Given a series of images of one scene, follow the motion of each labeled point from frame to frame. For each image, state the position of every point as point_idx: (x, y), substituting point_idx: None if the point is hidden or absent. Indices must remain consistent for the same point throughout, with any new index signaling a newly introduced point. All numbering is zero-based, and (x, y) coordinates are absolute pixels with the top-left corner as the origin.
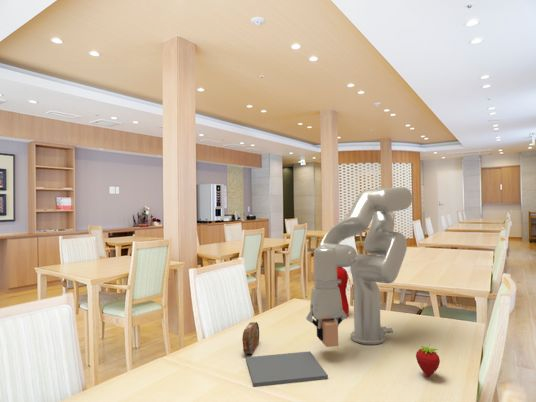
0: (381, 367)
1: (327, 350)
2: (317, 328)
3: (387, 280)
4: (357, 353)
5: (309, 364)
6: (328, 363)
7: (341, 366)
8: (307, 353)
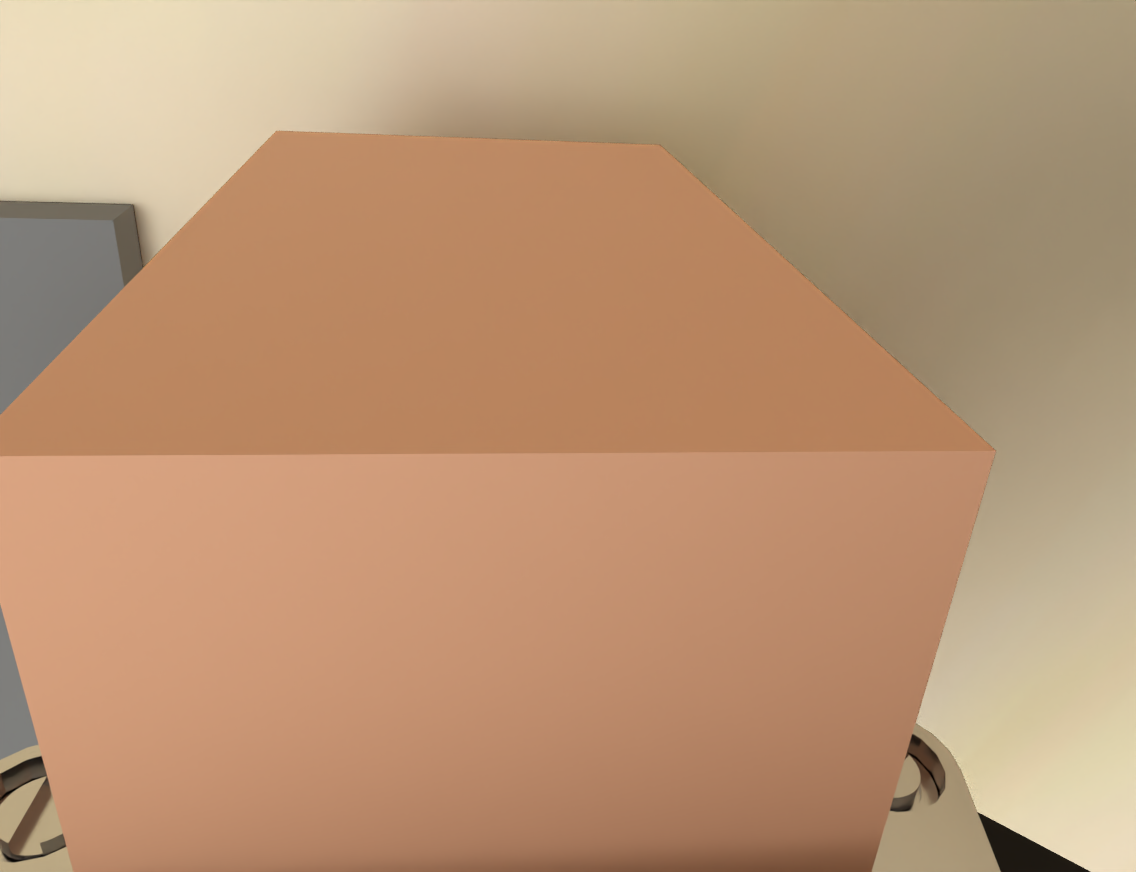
0: (1000, 795)
1: (568, 94)
2: None
3: None
4: (1020, 370)
5: (23, 731)
6: None
7: None
8: (34, 317)
